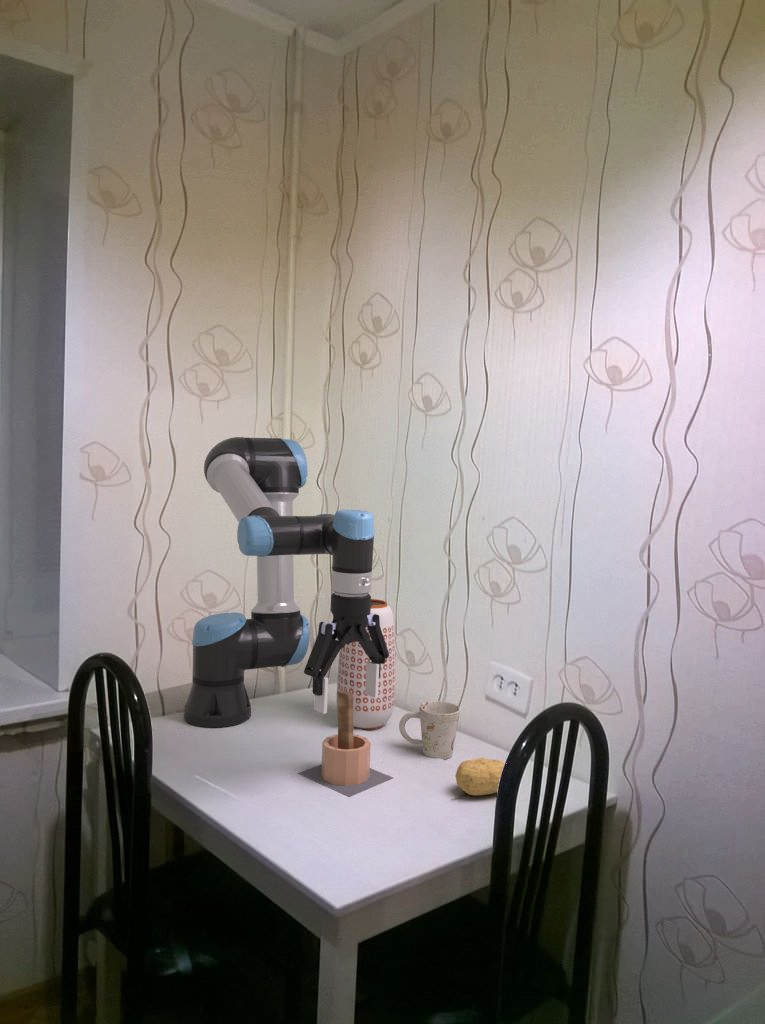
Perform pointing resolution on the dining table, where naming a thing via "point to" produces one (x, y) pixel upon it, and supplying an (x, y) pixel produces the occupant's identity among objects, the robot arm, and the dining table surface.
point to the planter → (353, 675)
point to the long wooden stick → (345, 720)
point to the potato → (479, 776)
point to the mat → (350, 790)
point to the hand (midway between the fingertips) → (346, 703)
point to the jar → (346, 761)
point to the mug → (434, 728)
